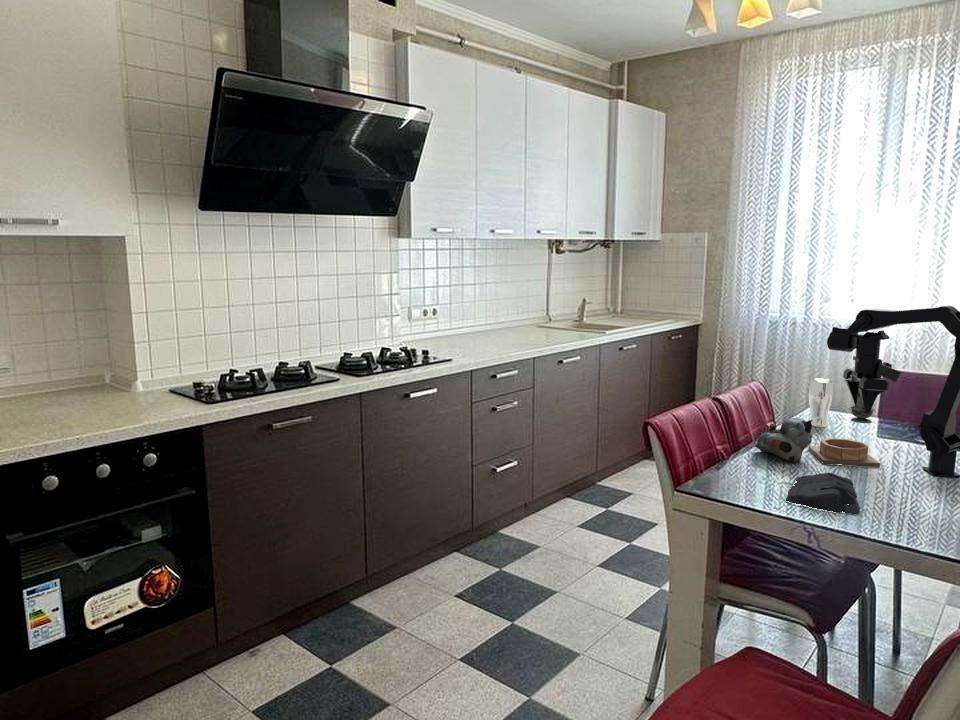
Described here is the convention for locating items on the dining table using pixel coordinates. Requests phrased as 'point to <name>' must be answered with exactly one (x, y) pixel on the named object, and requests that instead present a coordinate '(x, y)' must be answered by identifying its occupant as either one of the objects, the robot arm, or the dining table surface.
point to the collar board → (843, 453)
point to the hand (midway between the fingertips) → (862, 409)
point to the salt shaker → (860, 411)
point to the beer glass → (820, 401)
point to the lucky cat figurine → (787, 439)
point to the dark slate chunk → (825, 493)
